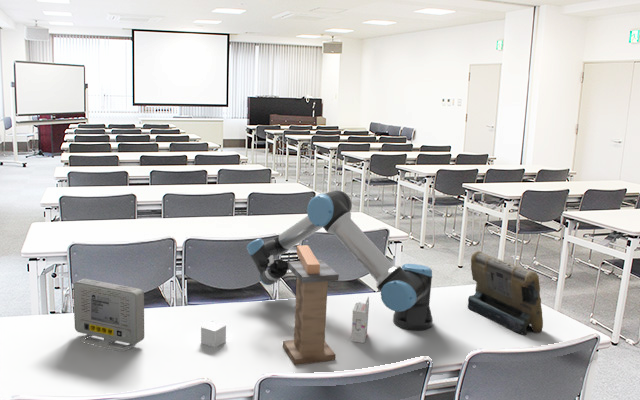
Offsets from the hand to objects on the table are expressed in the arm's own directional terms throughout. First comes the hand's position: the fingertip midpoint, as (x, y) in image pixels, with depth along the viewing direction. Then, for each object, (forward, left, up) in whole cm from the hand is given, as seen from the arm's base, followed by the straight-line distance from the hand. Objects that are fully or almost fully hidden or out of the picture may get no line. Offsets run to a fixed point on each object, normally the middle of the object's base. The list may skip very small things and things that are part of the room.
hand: (290, 257), depth 208 cm
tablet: (-86, -15, -27) cm, 91 cm away
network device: (+60, +20, -27) cm, 69 cm away
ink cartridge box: (-26, +8, -27) cm, 38 cm away
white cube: (+25, +17, -27) cm, 40 cm away
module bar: (-6, +17, +4) cm, 19 cm away
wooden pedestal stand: (-8, +22, -26) cm, 36 cm away
